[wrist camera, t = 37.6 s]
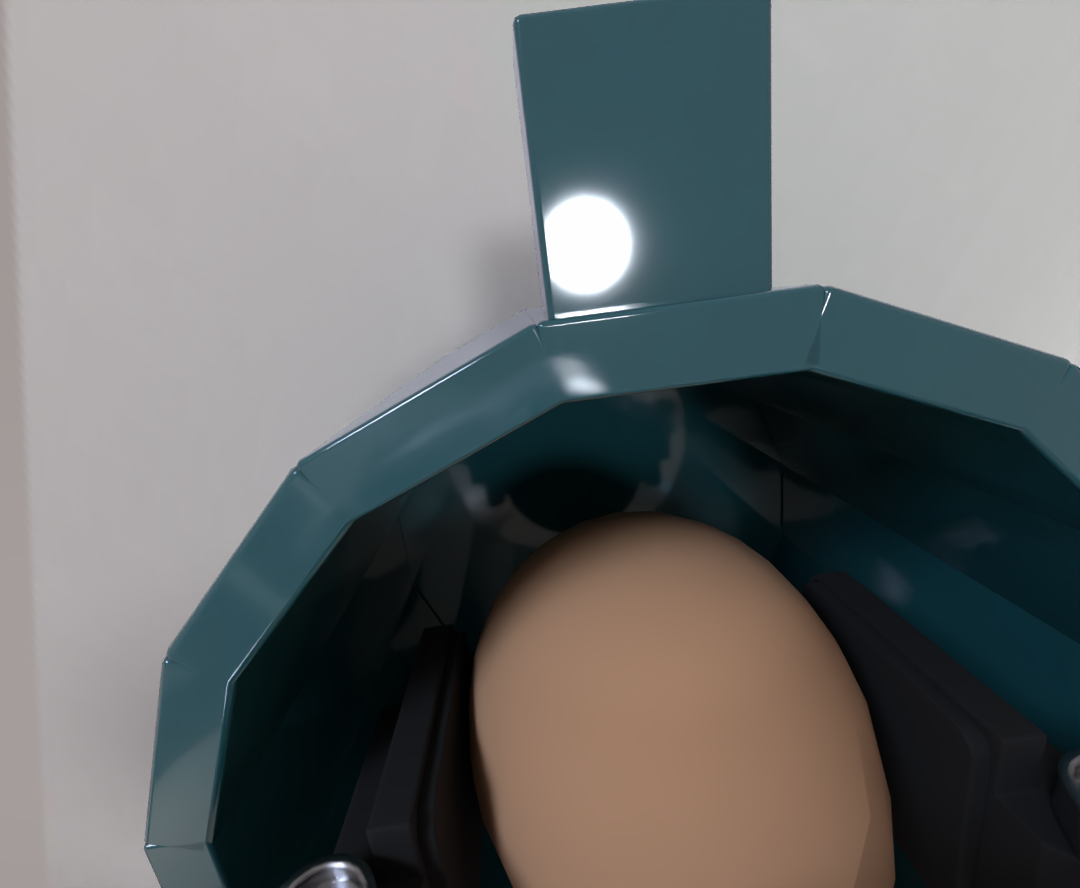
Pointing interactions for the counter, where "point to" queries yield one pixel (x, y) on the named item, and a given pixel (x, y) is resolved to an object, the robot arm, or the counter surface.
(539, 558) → the egg
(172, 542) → the counter surface
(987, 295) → the counter surface
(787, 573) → the saucepan
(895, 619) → the robot arm
